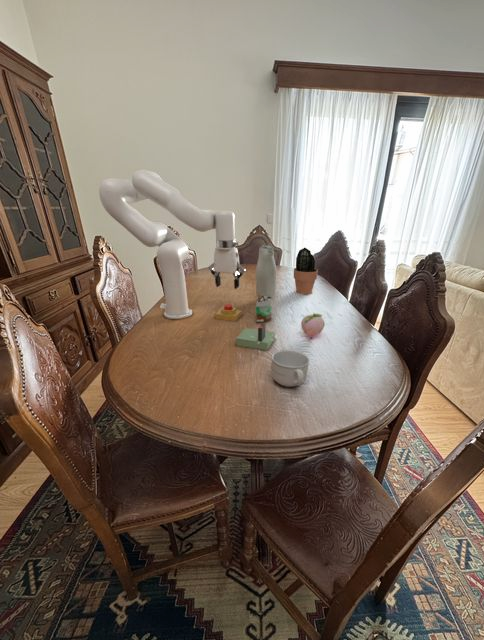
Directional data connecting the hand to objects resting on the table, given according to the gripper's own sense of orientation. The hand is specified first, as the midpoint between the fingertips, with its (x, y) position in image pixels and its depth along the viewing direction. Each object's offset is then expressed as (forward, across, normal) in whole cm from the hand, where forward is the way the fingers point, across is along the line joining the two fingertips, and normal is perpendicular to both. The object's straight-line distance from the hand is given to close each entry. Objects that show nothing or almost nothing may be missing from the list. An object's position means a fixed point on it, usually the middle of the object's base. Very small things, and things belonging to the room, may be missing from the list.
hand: (227, 286), depth 124 cm
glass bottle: (+14, -9, -29) cm, 34 cm away
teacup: (+14, -38, +44) cm, 60 cm away
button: (+10, 0, 0) cm, 10 cm away
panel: (+14, -21, +22) cm, 33 cm away
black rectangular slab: (+11, -23, +23) cm, 35 cm away
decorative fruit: (+14, -39, +9) cm, 42 cm away
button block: (+14, 0, 0) cm, 14 cm away
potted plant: (+14, -26, -51) cm, 59 cm away
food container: (+14, -17, -2) cm, 22 cm away
